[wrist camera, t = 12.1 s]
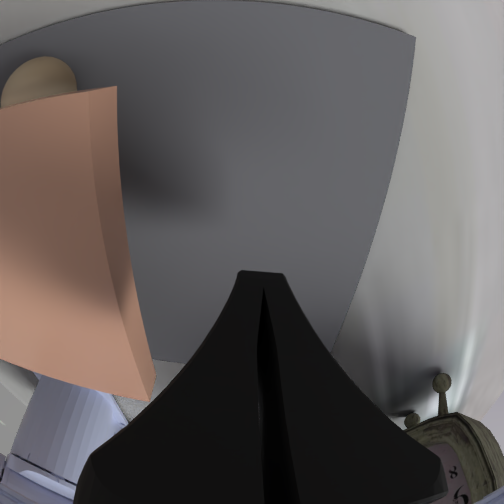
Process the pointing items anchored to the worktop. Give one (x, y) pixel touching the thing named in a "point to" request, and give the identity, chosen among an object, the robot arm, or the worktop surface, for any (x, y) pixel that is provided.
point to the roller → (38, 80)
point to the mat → (240, 148)
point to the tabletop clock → (460, 450)
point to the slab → (68, 247)
